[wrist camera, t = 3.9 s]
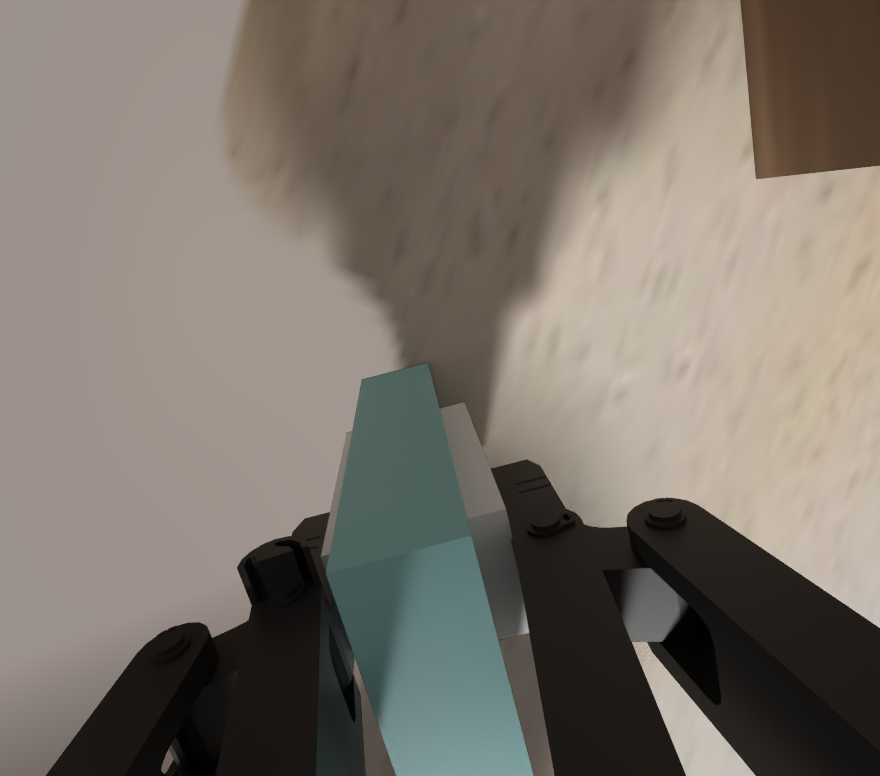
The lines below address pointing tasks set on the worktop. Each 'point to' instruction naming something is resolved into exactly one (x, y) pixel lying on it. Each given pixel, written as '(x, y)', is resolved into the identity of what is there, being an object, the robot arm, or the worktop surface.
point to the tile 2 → (813, 84)
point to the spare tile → (419, 592)
